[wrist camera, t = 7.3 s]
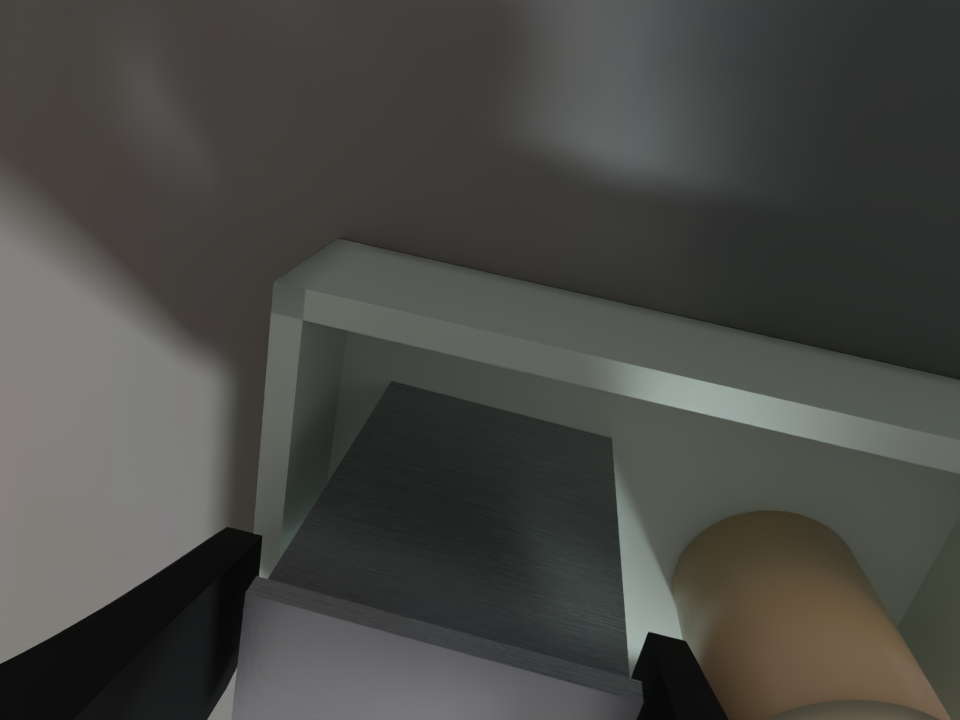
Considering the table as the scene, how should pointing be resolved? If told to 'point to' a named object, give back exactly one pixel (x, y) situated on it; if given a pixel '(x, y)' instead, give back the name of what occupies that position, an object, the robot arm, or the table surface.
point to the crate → (630, 423)
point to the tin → (447, 578)
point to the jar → (794, 626)
